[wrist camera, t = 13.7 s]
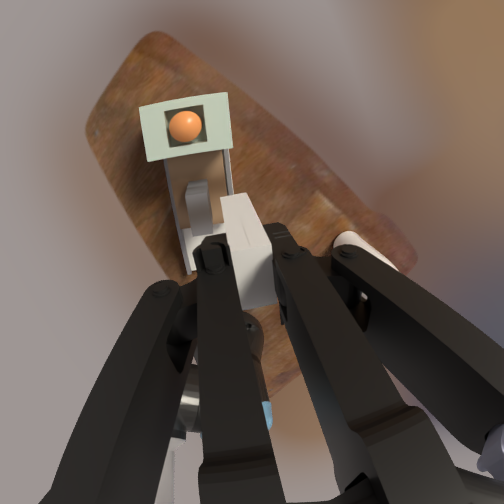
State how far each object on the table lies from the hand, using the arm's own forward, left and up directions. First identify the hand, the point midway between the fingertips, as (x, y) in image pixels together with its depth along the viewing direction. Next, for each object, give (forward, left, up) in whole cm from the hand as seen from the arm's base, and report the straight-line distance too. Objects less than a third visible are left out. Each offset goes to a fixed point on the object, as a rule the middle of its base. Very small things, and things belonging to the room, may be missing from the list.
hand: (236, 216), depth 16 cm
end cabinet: (+5, +3, -25) cm, 25 cm away
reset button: (+5, +3, -16) cm, 17 cm away
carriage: (-4, +3, -23) cm, 24 cm away
